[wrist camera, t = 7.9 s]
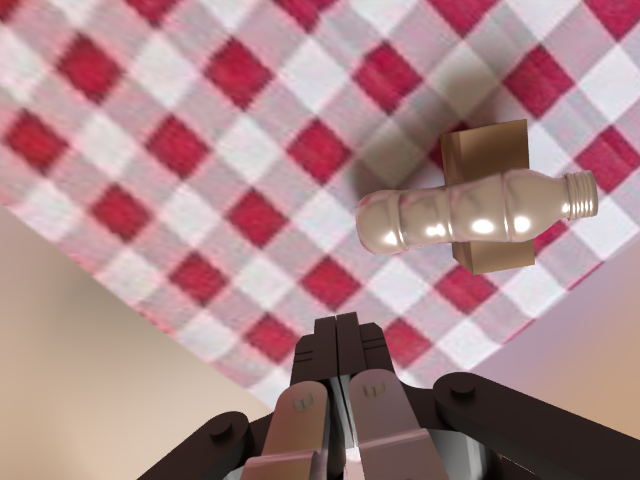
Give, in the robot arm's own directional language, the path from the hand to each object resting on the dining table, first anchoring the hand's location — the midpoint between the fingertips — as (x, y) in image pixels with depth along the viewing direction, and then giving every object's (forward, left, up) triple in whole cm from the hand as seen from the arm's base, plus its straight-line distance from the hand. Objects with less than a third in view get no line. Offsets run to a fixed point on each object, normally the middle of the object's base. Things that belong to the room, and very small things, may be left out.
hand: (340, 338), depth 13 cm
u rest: (+1, +16, -29) cm, 33 cm away
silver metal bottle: (+2, +3, -26) cm, 26 cm away
